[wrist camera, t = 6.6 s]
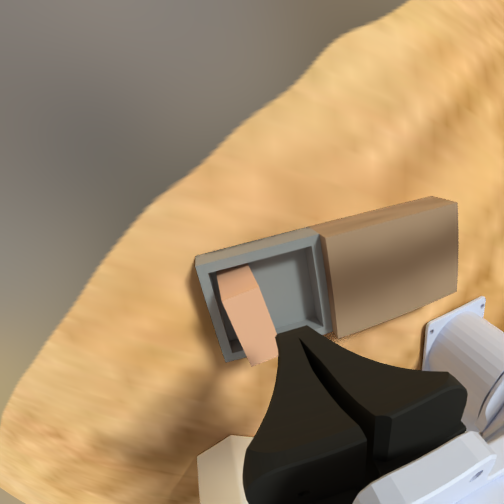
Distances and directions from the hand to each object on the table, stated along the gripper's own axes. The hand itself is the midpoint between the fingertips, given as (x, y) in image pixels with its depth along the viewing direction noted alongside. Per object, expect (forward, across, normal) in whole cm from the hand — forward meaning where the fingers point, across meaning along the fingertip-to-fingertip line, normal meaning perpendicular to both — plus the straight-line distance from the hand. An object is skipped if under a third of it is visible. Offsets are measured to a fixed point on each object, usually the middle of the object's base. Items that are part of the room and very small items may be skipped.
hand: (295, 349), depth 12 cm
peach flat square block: (+7, 0, +1) cm, 7 cm away
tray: (+9, 0, +2) cm, 9 cm away
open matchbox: (+9, -9, +2) cm, 13 cm away
